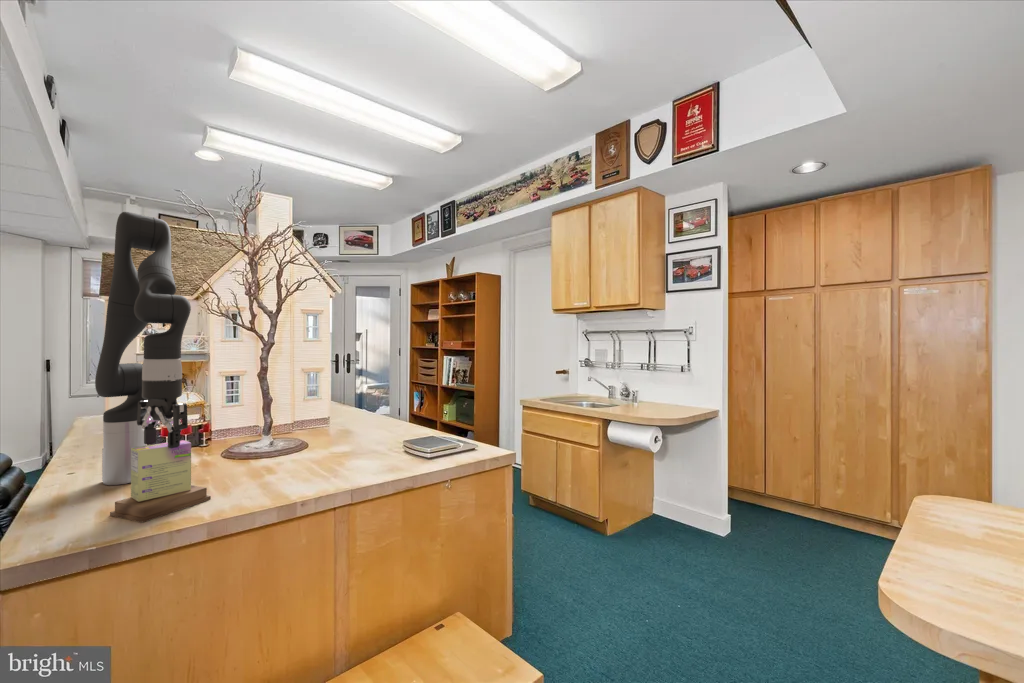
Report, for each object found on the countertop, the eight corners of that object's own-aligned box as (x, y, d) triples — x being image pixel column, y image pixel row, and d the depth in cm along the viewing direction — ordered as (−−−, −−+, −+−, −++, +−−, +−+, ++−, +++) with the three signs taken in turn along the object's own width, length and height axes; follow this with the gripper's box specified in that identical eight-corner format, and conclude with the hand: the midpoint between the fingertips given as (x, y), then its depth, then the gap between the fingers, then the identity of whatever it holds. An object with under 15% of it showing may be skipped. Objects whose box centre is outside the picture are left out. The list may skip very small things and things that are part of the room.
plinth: (110, 515, 100) (110, 502, 100) (180, 494, 115) (180, 482, 115) (142, 522, 97) (142, 508, 97) (210, 499, 111) (210, 487, 111)
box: (183, 486, 112) (183, 439, 112) (191, 490, 108) (191, 442, 108) (130, 497, 103) (130, 447, 103) (137, 503, 100) (137, 450, 100)
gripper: (125, 377, 104) (124, 446, 104) (165, 380, 99) (164, 452, 100) (159, 375, 111) (159, 439, 112) (199, 377, 107) (198, 445, 107)
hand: (161, 445), depth 106 cm, fingers open, 8 cm apart
